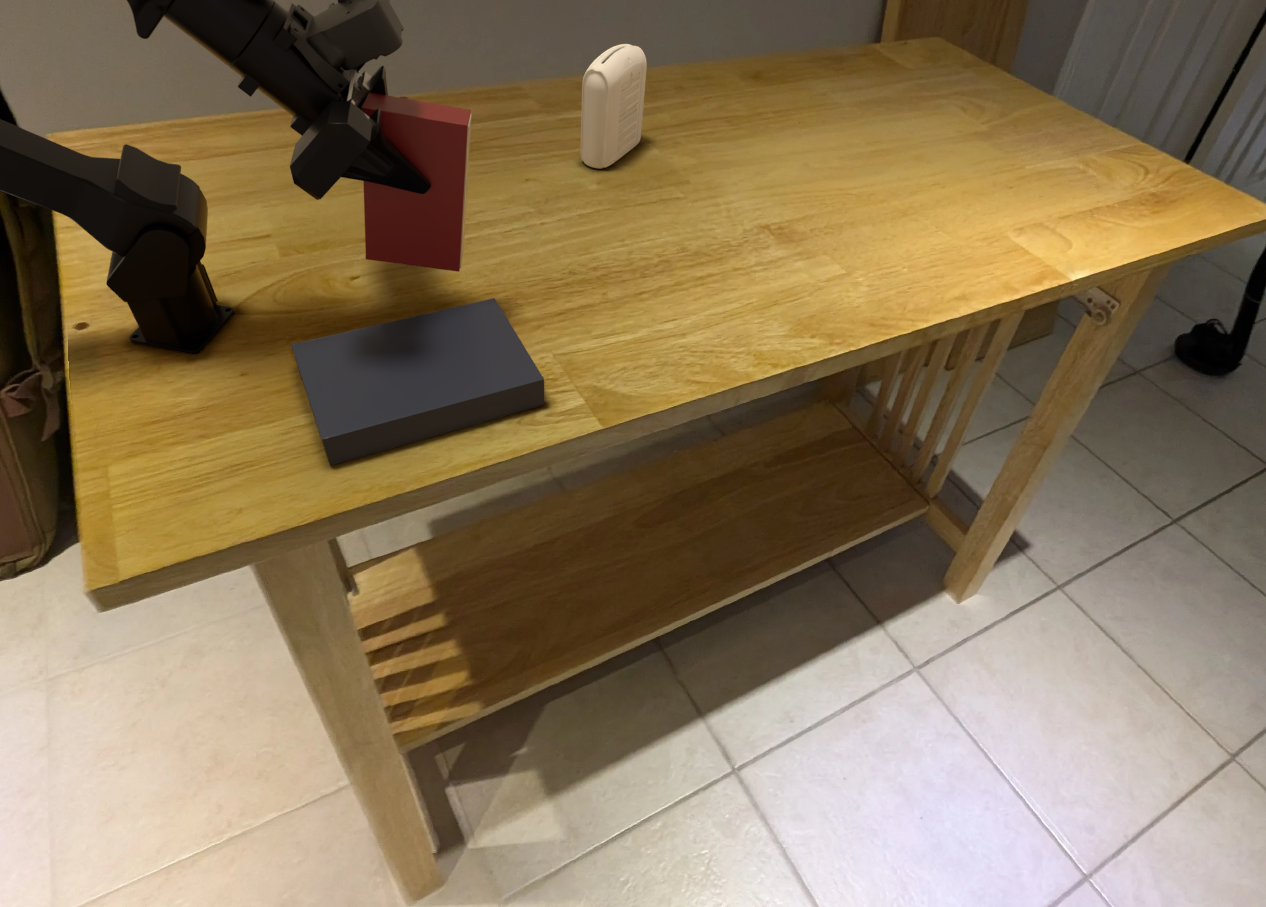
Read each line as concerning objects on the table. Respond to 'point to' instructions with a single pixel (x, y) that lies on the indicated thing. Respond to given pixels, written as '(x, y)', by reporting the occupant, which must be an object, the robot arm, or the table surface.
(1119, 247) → the table surface
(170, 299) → the robot arm
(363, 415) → the dark gray flat block
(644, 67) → the photo printer
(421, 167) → the small book
